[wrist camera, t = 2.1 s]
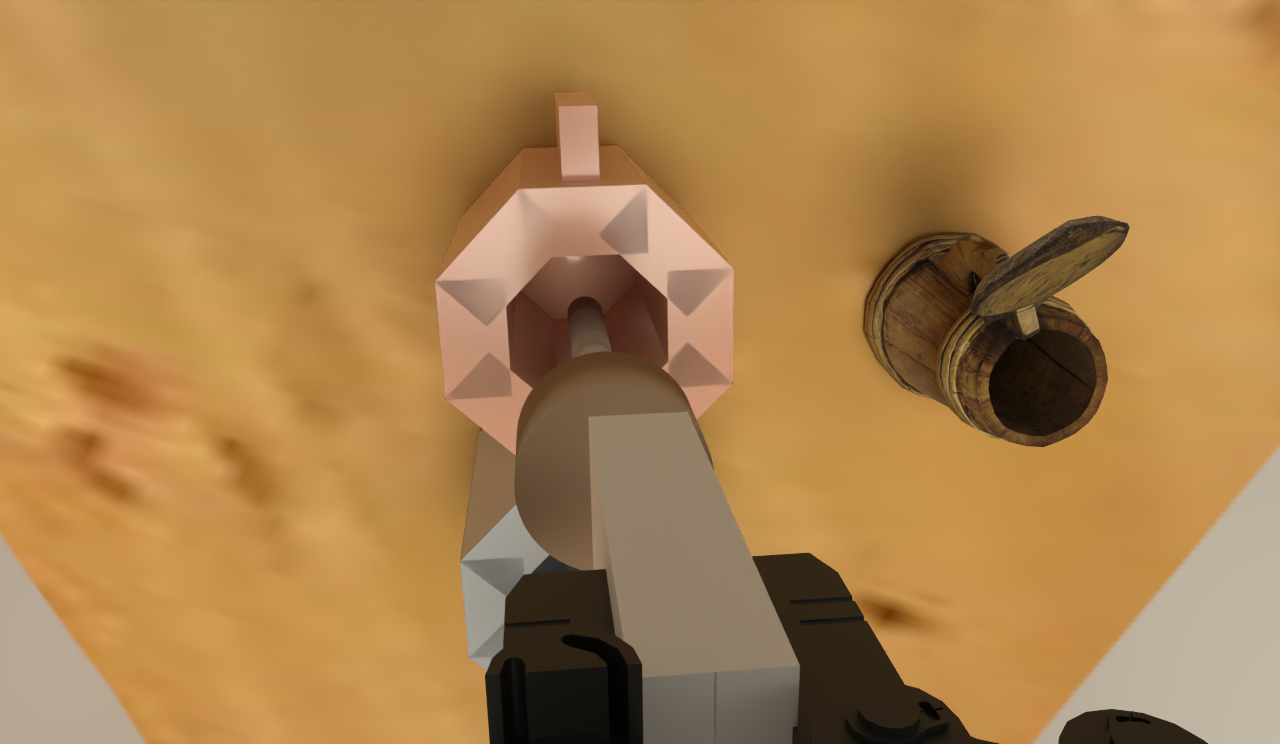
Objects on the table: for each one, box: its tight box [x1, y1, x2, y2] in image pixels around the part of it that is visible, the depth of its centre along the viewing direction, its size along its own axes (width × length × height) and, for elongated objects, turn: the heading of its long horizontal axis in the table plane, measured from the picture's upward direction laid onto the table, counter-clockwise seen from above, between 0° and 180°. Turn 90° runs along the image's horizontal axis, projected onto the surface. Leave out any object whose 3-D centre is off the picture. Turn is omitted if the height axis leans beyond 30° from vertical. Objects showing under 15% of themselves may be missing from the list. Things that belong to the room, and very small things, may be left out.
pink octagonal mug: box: [435, 92, 734, 456], centre depth 43 cm, size 14×11×14 cm
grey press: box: [460, 429, 580, 671], centre depth 48 cm, size 14×11×14 cm
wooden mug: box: [864, 216, 1129, 447], centre depth 44 cm, size 9×14×18 cm, turn 23°
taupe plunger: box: [514, 296, 714, 570], centre depth 32 cm, size 5×5×16 cm
